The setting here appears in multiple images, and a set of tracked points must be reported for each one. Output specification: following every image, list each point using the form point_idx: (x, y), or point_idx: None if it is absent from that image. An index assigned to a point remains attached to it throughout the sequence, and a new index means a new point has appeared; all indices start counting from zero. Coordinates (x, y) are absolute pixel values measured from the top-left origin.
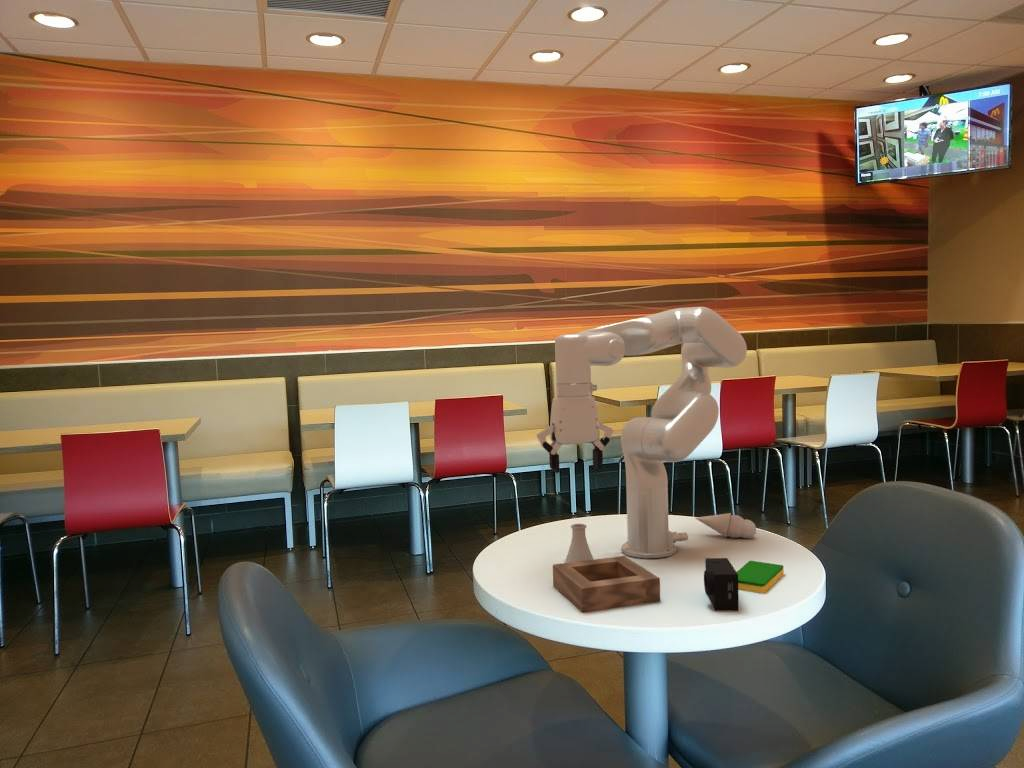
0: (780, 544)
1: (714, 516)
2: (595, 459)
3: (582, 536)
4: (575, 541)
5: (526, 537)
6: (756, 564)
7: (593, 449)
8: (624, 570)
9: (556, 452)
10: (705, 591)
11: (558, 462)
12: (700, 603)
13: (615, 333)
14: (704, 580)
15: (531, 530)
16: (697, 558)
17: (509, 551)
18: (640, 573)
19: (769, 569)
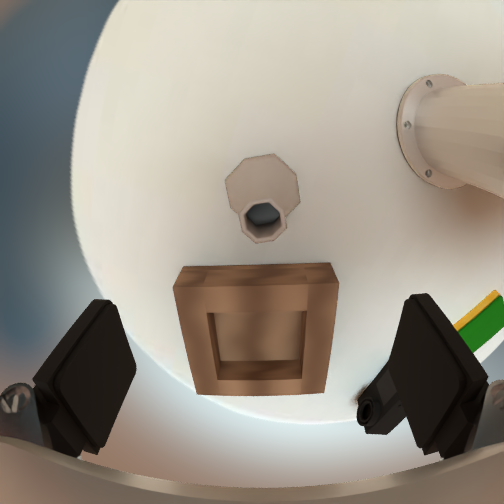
0: None
1: None
2: (415, 372)
3: (268, 227)
4: (248, 219)
5: None
6: (493, 314)
7: (468, 385)
8: (304, 333)
9: (81, 458)
10: (365, 398)
11: (114, 413)
12: (359, 382)
13: None
14: (372, 401)
15: None
16: (484, 213)
17: (152, 12)
18: (310, 372)
19: (486, 335)
